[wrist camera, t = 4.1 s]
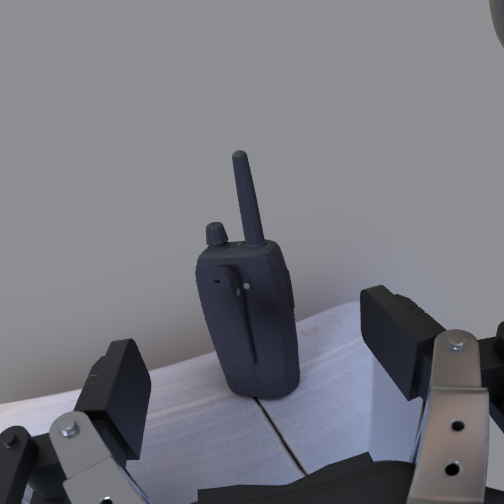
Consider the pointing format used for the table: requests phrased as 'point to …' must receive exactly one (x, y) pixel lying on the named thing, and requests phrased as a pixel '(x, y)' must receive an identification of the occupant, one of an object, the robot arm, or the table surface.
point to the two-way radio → (249, 301)
